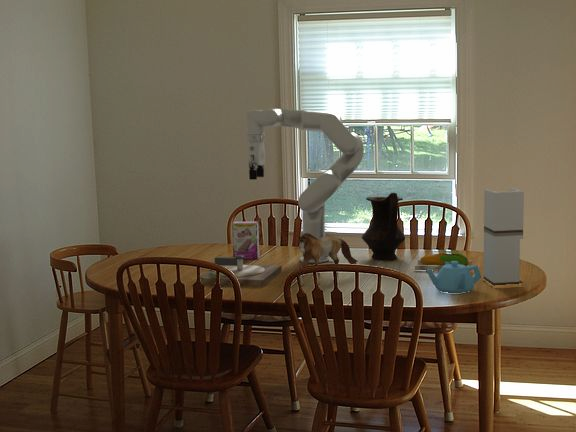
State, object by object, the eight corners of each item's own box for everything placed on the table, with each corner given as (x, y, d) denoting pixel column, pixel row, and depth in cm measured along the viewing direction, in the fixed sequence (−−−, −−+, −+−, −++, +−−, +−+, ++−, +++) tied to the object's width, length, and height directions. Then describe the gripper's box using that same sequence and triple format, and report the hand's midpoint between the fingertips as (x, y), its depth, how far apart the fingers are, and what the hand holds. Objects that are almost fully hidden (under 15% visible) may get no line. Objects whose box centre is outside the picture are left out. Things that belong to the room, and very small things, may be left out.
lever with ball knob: (245, 268, 321) (245, 255, 320) (242, 270, 317) (242, 257, 316) (217, 267, 324) (216, 254, 323) (214, 269, 320) (213, 256, 319)
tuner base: (281, 271, 329) (281, 262, 328) (263, 286, 304) (263, 277, 303) (219, 269, 336) (219, 260, 335) (196, 284, 311) (196, 274, 310)
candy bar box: (233, 259, 355) (231, 223, 352) (234, 257, 360) (233, 221, 357) (258, 259, 353) (256, 222, 351) (259, 257, 358) (258, 221, 356)
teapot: (463, 298, 279) (463, 267, 277) (425, 292, 288) (425, 263, 287) (483, 289, 290) (483, 260, 289) (446, 283, 300) (446, 255, 298)
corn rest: (472, 266, 327) (472, 260, 327) (471, 272, 316) (471, 266, 316) (417, 264, 333) (417, 259, 333) (414, 271, 322) (414, 265, 321)
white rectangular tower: (522, 287, 291) (523, 191, 286) (493, 288, 291) (494, 192, 285) (510, 279, 303) (512, 187, 297) (483, 281, 302) (484, 188, 296)
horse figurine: (303, 290, 297) (301, 235, 294) (288, 286, 303) (287, 233, 299) (359, 275, 318) (358, 224, 315) (344, 272, 323) (343, 222, 320)
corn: (465, 253, 316) (417, 250, 325) (465, 272, 316) (416, 269, 326) (470, 251, 322) (422, 248, 331) (470, 270, 323) (422, 266, 332)
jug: (355, 257, 353) (354, 189, 348) (393, 253, 358) (393, 186, 354) (375, 266, 333) (374, 194, 328) (415, 262, 338) (415, 191, 334)
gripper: (257, 139, 336) (258, 180, 339) (270, 137, 352) (271, 176, 355) (240, 139, 338) (241, 180, 341) (253, 137, 354) (254, 176, 357)
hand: (256, 178), depth 348 cm, fingers open, 9 cm apart
